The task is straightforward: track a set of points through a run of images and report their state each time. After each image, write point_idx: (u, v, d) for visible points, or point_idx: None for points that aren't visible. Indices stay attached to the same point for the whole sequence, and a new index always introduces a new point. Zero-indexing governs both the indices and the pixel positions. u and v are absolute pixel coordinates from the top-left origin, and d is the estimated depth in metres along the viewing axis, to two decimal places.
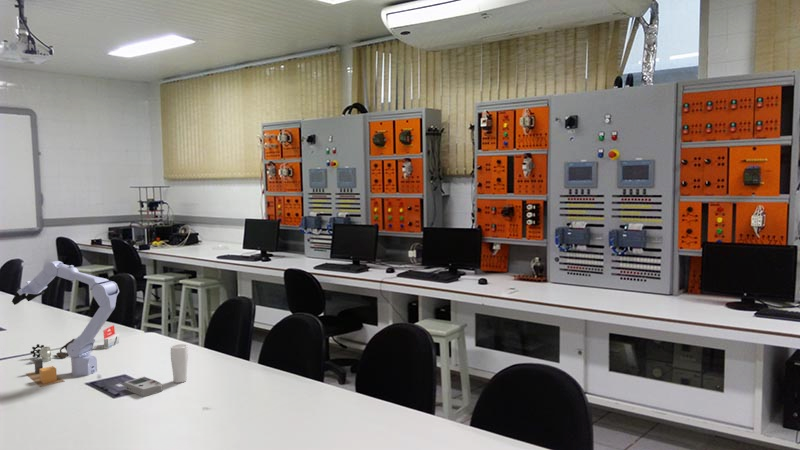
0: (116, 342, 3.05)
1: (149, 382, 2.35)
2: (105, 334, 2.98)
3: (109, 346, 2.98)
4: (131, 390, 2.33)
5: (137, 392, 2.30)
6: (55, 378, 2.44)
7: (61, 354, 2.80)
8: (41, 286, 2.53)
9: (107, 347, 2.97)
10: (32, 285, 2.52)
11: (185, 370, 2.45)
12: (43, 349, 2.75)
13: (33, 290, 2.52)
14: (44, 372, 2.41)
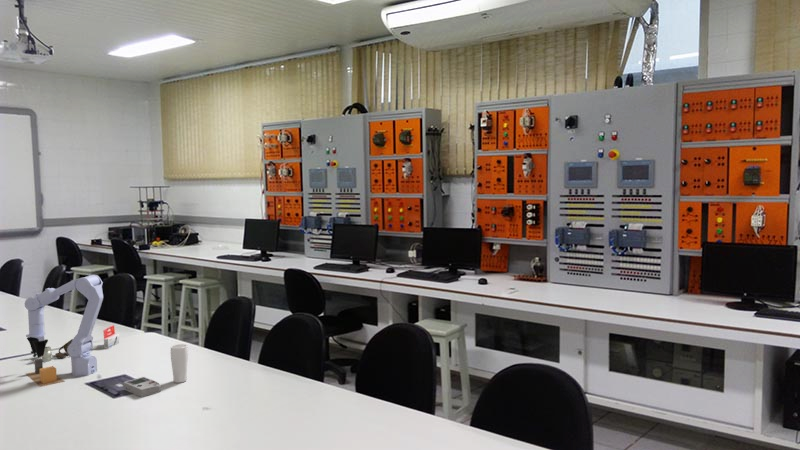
0: (116, 342, 3.05)
1: (148, 382, 2.35)
2: (105, 334, 2.98)
3: (109, 346, 2.98)
4: (130, 390, 2.33)
5: (135, 392, 2.30)
6: (55, 378, 2.44)
7: (60, 354, 2.80)
8: (43, 323, 2.54)
9: (107, 347, 2.97)
10: (37, 329, 2.51)
11: (185, 370, 2.45)
12: None
13: (42, 332, 2.53)
14: (44, 372, 2.41)
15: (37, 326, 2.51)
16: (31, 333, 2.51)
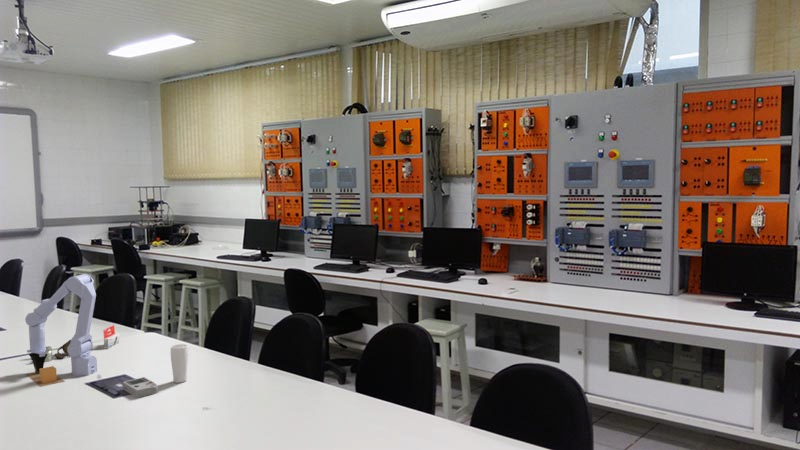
0: (116, 342, 3.05)
1: (145, 383, 2.34)
2: (105, 334, 2.98)
3: (109, 346, 2.98)
4: (128, 390, 2.32)
5: (132, 393, 2.29)
6: (55, 378, 2.44)
7: (59, 355, 2.79)
8: (44, 339, 2.55)
9: (107, 347, 2.97)
10: (38, 344, 2.52)
11: (185, 370, 2.45)
12: None
13: (43, 347, 2.54)
14: (44, 372, 2.41)
15: (38, 342, 2.52)
16: (32, 349, 2.51)
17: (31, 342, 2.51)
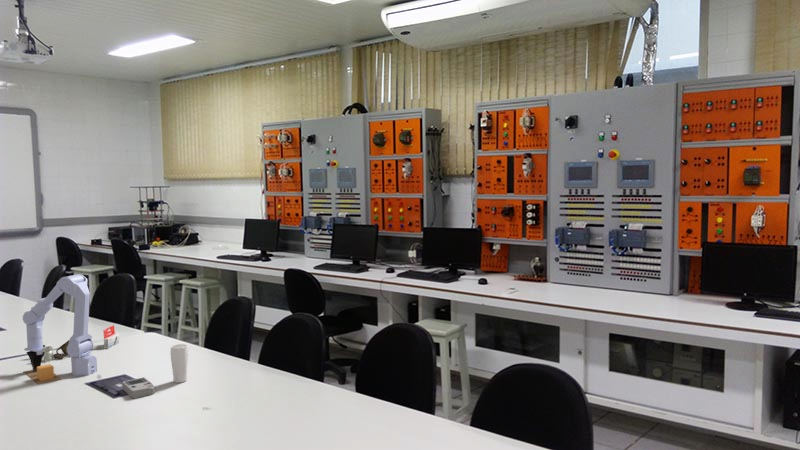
0: (116, 342, 3.05)
1: (143, 384, 2.33)
2: (105, 334, 2.98)
3: (109, 346, 2.98)
4: (126, 390, 2.32)
5: (129, 393, 2.29)
6: (52, 376, 2.47)
7: (58, 355, 2.79)
8: (41, 337, 2.58)
9: (107, 347, 2.97)
10: (36, 343, 2.55)
11: (185, 370, 2.45)
12: (45, 349, 2.75)
13: (40, 345, 2.57)
14: (41, 370, 2.44)
15: (35, 340, 2.55)
16: (29, 347, 2.54)
17: (28, 340, 2.54)
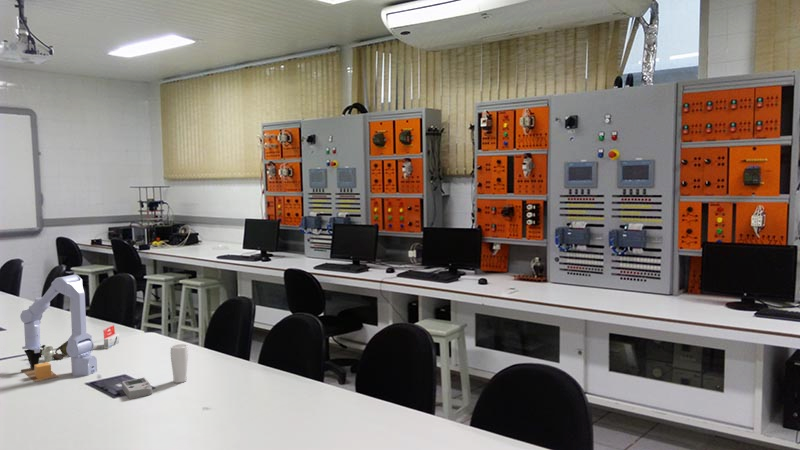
0: (116, 342, 3.05)
1: (141, 384, 2.33)
2: (105, 334, 2.98)
3: (109, 346, 2.98)
4: (124, 390, 2.32)
5: (127, 393, 2.29)
6: (50, 374, 2.50)
7: (57, 355, 2.78)
8: (39, 335, 2.60)
9: (107, 347, 2.97)
10: (33, 341, 2.58)
11: (185, 370, 2.45)
12: (46, 349, 2.75)
13: (38, 344, 2.59)
14: (39, 368, 2.47)
15: (33, 338, 2.57)
16: (27, 345, 2.57)
17: (26, 339, 2.57)
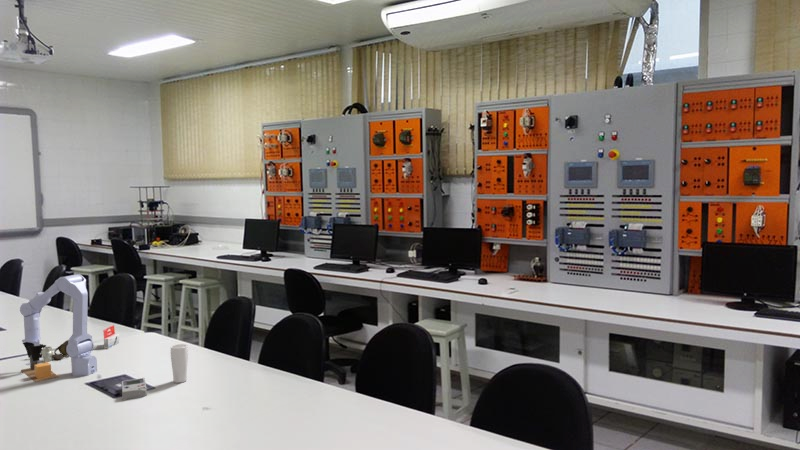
0: (116, 342, 3.05)
1: (137, 385, 2.32)
2: (105, 334, 2.98)
3: (109, 346, 2.98)
4: None
5: None
6: (50, 374, 2.50)
7: (57, 356, 2.78)
8: (39, 328, 2.60)
9: (107, 347, 2.97)
10: (33, 334, 2.57)
11: (185, 370, 2.45)
12: (45, 349, 2.75)
13: (37, 337, 2.59)
14: (39, 368, 2.47)
15: (32, 331, 2.57)
16: (27, 338, 2.57)
17: (26, 332, 2.57)
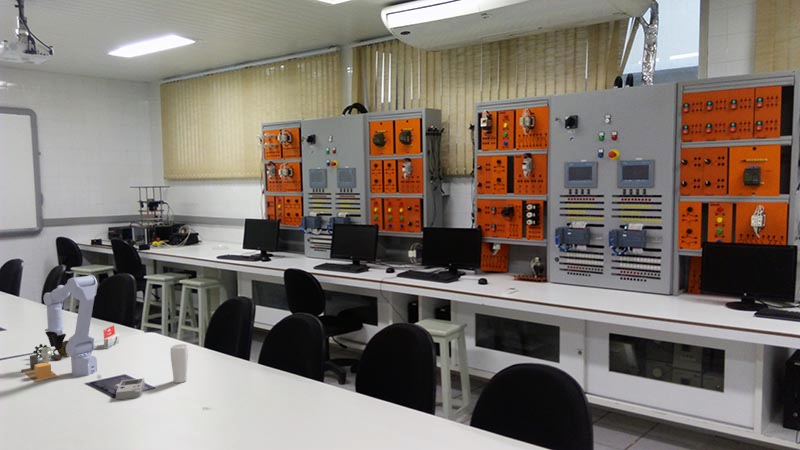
0: (116, 342, 3.05)
1: (133, 385, 2.31)
2: (105, 334, 2.98)
3: (109, 346, 2.98)
4: None
5: None
6: (50, 374, 2.50)
7: (57, 356, 2.77)
8: (61, 318, 2.64)
9: (107, 347, 2.97)
10: (56, 323, 2.61)
11: (185, 370, 2.45)
12: (43, 349, 2.74)
13: (60, 326, 2.63)
14: (39, 368, 2.47)
15: (55, 321, 2.61)
16: (50, 327, 2.61)
17: (49, 321, 2.61)
